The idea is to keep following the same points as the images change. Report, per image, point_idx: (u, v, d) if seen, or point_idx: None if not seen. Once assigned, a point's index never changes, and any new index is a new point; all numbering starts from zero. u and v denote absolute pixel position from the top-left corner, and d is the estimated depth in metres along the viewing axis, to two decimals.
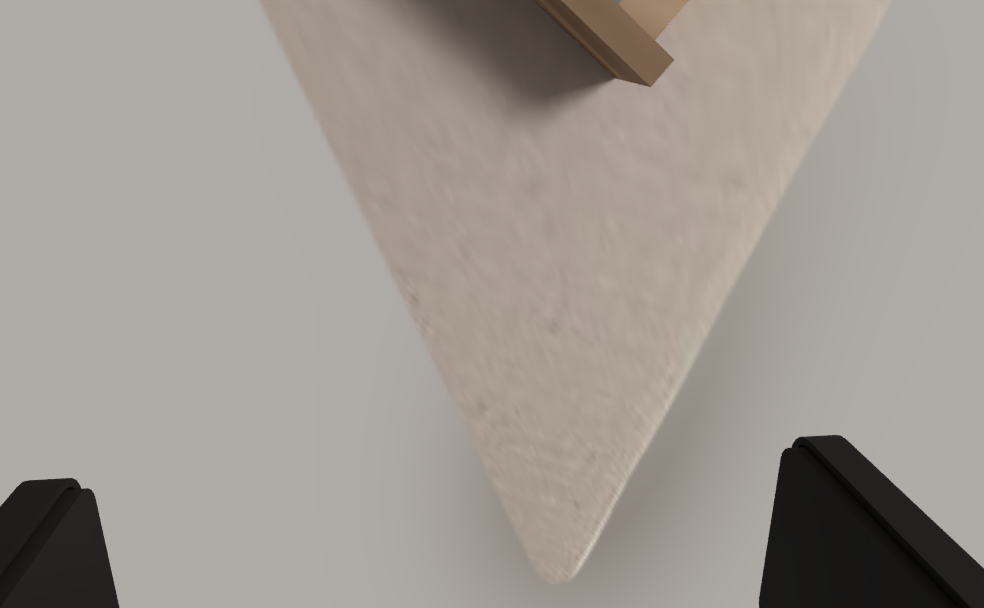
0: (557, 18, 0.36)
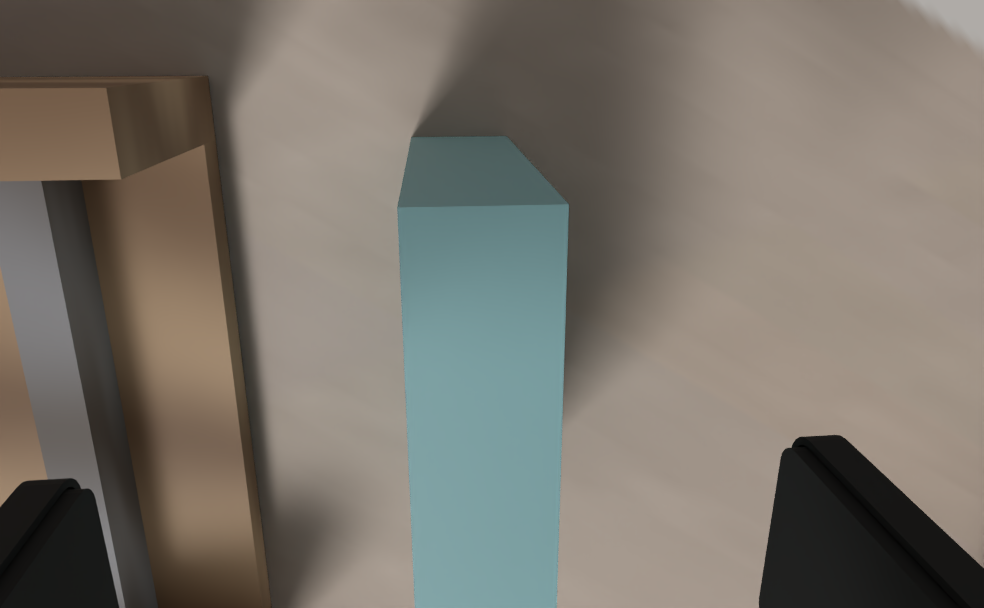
0: None
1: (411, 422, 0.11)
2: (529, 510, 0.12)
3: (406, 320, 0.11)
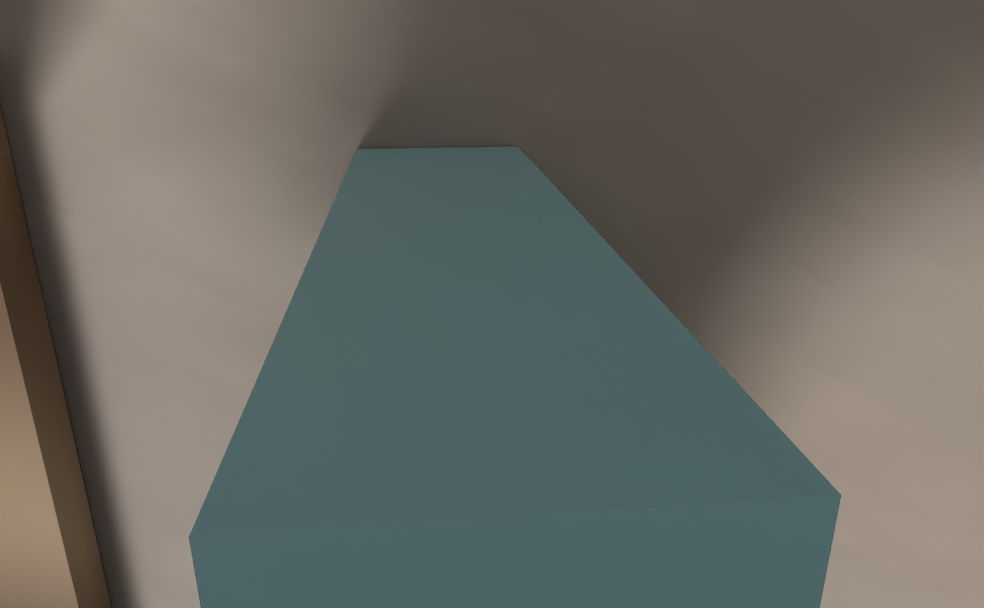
0: None
1: None
2: None
3: None
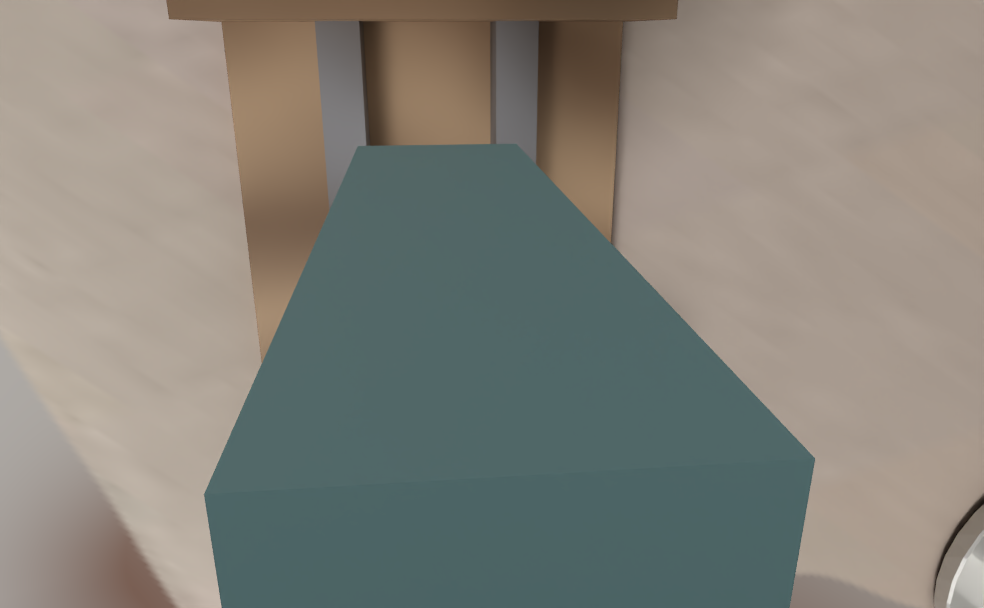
0: None
1: None
2: None
3: None
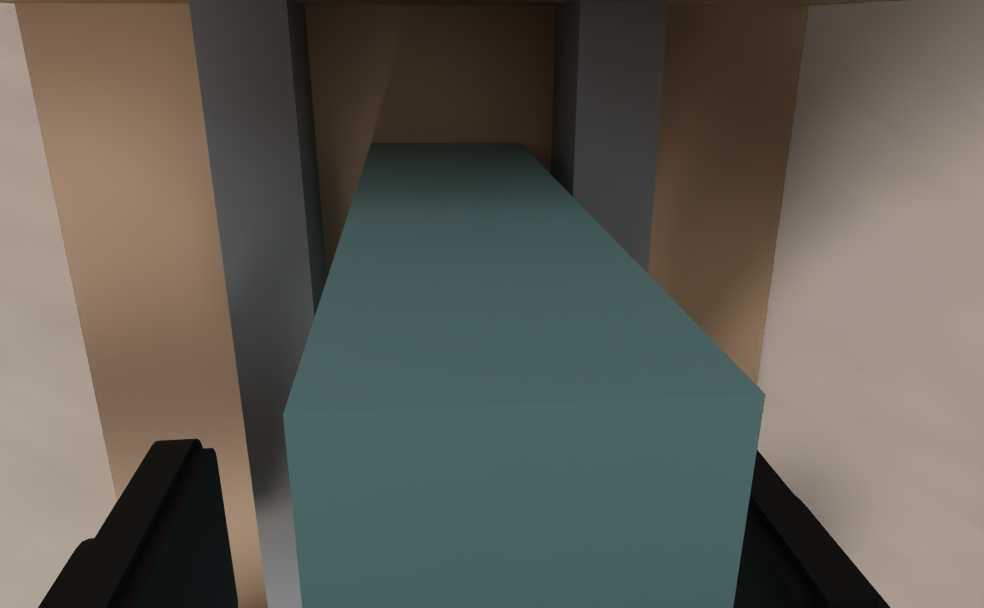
0: None
1: None
2: None
3: None
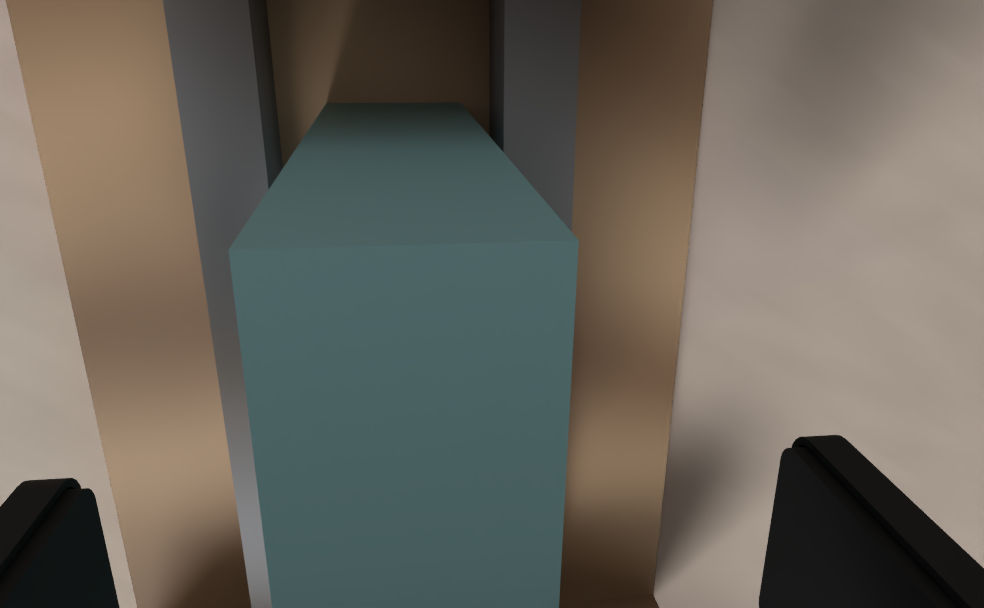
0: None
1: None
2: None
3: (263, 461, 0.06)
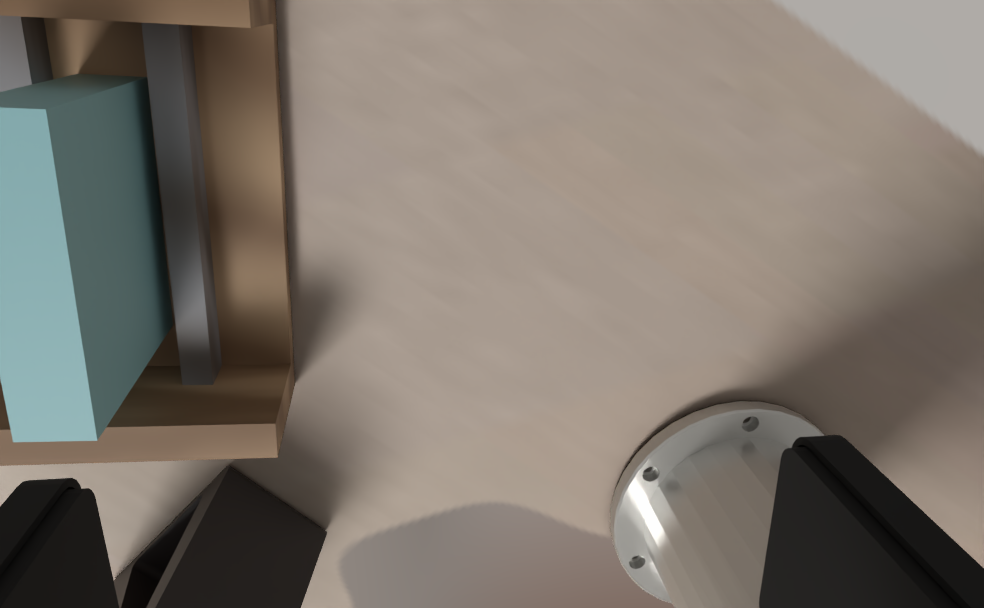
0: None
1: None
2: (54, 288, 0.21)
3: None
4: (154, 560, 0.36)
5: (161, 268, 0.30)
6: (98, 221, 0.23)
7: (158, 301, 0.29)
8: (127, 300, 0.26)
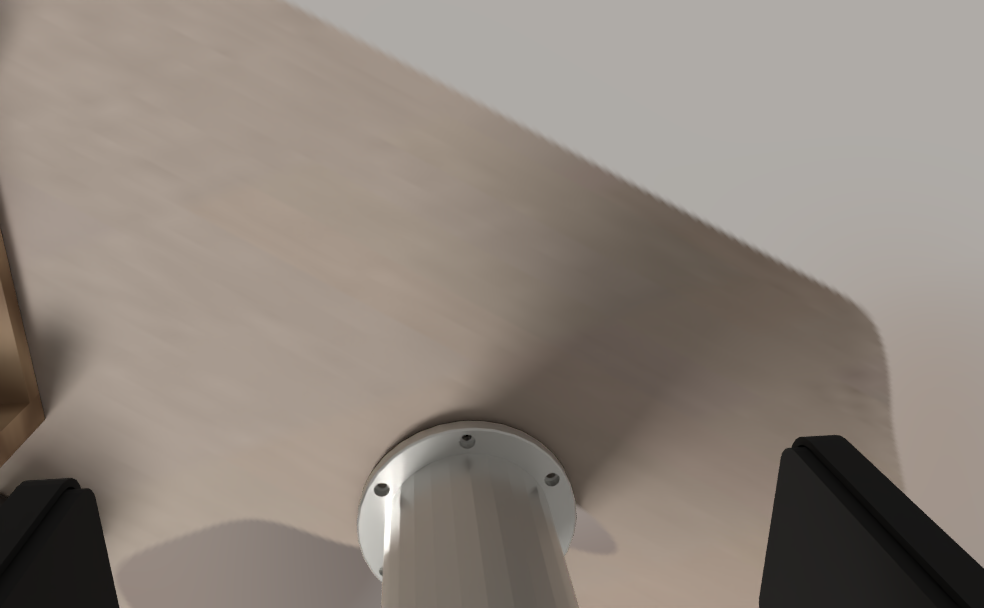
0: None
1: None
2: None
3: None
4: None
5: None
6: None
7: None
8: None
